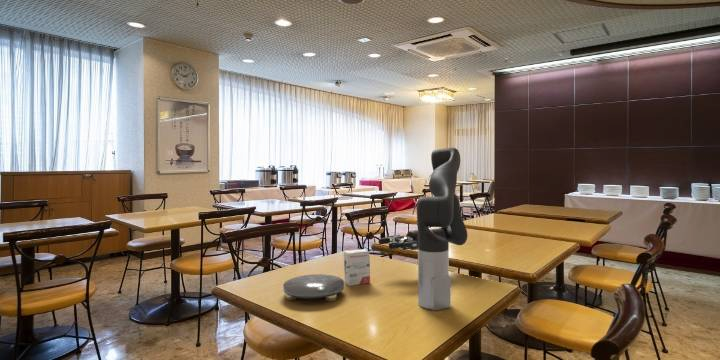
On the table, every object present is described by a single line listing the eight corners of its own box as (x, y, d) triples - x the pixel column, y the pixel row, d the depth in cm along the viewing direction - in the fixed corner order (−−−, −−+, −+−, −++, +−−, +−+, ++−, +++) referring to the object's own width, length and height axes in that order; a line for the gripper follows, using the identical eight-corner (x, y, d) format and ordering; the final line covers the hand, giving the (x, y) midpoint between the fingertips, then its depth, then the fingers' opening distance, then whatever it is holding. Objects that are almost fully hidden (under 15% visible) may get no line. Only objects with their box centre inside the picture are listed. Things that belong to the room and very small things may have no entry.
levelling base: (353, 300, 122) (352, 285, 121) (291, 310, 114) (290, 294, 114) (332, 282, 140) (332, 269, 140) (278, 290, 132) (277, 276, 132)
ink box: (365, 279, 143) (365, 248, 143) (370, 283, 139) (370, 251, 138) (343, 282, 140) (343, 250, 140) (348, 286, 136) (347, 253, 135)
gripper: (411, 227, 156) (375, 230, 150) (430, 233, 143) (392, 237, 137) (411, 245, 157) (375, 249, 150) (430, 252, 144) (392, 258, 137)
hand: (383, 243), depth 144 cm, fingers open, 8 cm apart
